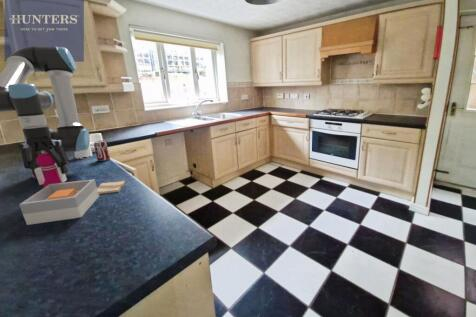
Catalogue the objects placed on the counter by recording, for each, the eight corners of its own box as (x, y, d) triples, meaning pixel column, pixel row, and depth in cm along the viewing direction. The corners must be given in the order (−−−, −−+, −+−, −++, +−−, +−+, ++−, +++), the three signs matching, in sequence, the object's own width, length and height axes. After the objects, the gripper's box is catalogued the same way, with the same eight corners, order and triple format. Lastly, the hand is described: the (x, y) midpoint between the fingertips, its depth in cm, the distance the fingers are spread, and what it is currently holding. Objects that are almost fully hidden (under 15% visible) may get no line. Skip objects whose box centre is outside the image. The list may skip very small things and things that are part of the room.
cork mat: (102, 185, 101) (101, 183, 100) (125, 182, 102) (125, 180, 102) (93, 194, 91) (92, 192, 91) (119, 191, 93) (118, 189, 93)
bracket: (88, 158, 146) (84, 140, 142) (73, 159, 145) (68, 141, 142) (107, 148, 169) (104, 132, 166) (94, 149, 169) (90, 133, 165)
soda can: (96, 160, 139) (91, 141, 136) (108, 157, 144) (104, 139, 140) (99, 162, 135) (94, 143, 131) (111, 159, 139) (107, 141, 136)
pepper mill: (64, 190, 97) (50, 146, 91) (72, 193, 94) (58, 148, 87) (44, 197, 91) (27, 151, 85) (52, 201, 88) (35, 153, 81)
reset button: (60, 201, 83) (57, 190, 81) (78, 199, 84) (75, 188, 82) (51, 209, 77) (47, 197, 76) (70, 206, 78) (66, 195, 77)
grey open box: (55, 201, 87) (49, 184, 85) (99, 196, 90) (94, 179, 88) (27, 224, 72) (19, 204, 70) (81, 217, 75) (75, 197, 73)
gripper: (-5, 130, 78) (18, 189, 85) (59, 126, 82) (76, 182, 89) (11, 127, 85) (31, 181, 92) (69, 123, 89) (84, 176, 96)
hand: (53, 182), depth 91 cm, fingers open, 7 cm apart
